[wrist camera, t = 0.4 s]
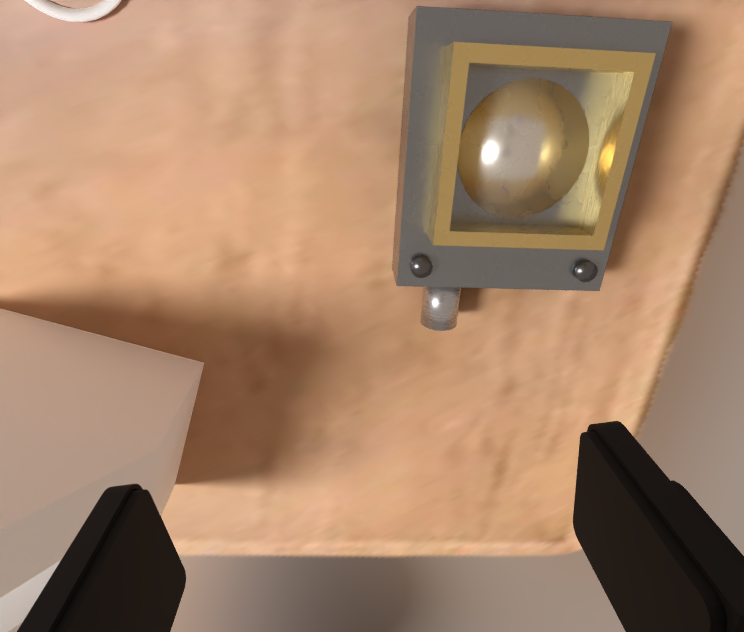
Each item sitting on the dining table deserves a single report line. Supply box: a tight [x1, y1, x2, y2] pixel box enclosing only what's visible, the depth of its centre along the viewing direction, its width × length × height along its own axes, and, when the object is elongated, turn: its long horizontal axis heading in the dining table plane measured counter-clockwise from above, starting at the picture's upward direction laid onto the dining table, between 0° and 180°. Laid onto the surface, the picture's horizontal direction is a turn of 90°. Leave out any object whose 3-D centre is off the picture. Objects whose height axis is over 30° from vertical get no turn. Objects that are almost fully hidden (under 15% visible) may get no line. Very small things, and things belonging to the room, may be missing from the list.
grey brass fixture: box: [392, 6, 672, 331], centre depth 34 cm, size 22×16×6 cm
